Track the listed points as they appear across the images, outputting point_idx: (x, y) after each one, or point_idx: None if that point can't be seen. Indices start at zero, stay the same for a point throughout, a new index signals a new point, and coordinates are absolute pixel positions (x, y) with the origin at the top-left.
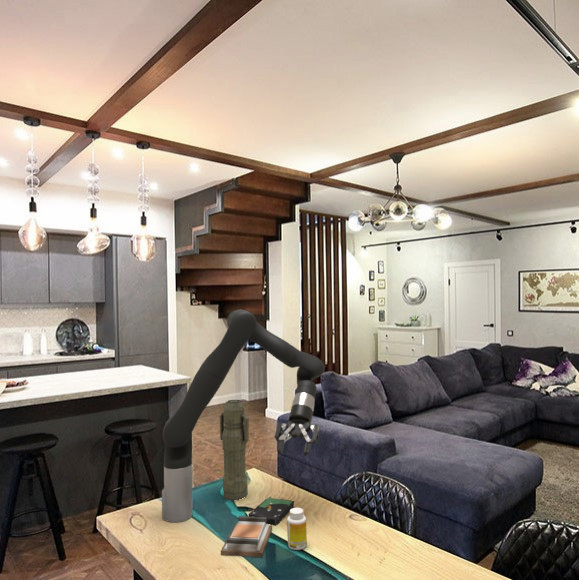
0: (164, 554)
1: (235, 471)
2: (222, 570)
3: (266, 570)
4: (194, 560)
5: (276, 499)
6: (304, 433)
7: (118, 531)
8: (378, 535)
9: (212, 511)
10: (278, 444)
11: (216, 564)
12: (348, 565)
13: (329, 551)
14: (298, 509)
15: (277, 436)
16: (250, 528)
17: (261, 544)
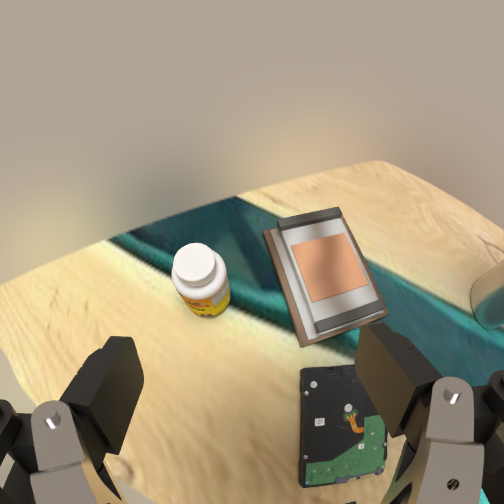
0: (411, 196)
1: (500, 429)
2: (306, 185)
3: (236, 205)
4: (364, 194)
5: (357, 473)
6: (64, 489)
7: (495, 229)
8: (60, 387)
9: (461, 355)
10: (425, 359)
11: (326, 194)
12: (101, 264)
13: (136, 299)
14: (189, 269)
15: (495, 387)
16: (330, 275)
17: (278, 250)
